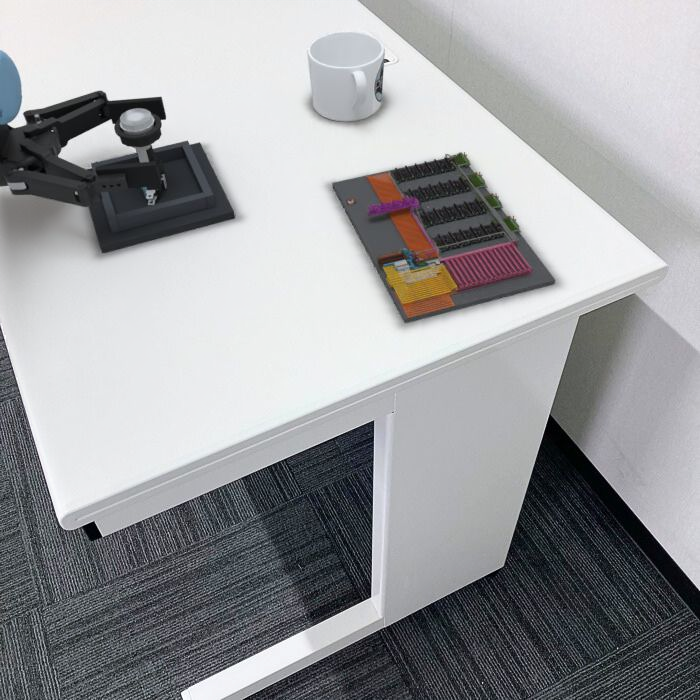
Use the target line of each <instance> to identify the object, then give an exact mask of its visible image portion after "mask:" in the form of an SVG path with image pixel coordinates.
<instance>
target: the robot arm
mask: <svg viewBox="0 0 700 700" xmlns="http://www.w3.org/2000/svg"><path fill="white" fill-rule="evenodd" d="M162 97H163V96H151V97H140V98H128V99H116V100H115V99H114V100H109V99H108V95H107V93H106V92H105V91H103V90H95V91H92V92H90V93H86V94H83V95H79V96H78V97H74V98H71V99H67V100H65V101H61V102H59V103H55V104H52V105H48V106H45V107H43V108H35V109H28V110H25V111H23V112H22V115H23V117H24V121H25V124H24V125H22V126H17V127H14V126H13V127H12V126H11V125H9V123H12V122H13V121H14V120H15V119H16V118H17V116H18V115H19V112H20V111H21V106H22V103H23V101H22V100H23V91H22V80H21V76H20V73H19V70H18V67H17V65H16V64H15V62H14V60H13V59H12V58H11V57H10V56H9V55H8V54H7V53H6V52H5V51H3V50H2V49H0V188H2V187H8V188H9V190H10V192H11V195H13V196H33V197H38V198H42V199H46V200H52V201H56V202H60V203H65V204H69V205H73V206H78V207H82V208H89V206H91V205H92V204H93V202H99V201H101V200H102V195H101V192H108V191H118V190H126V189H129V188H140V187H151V186H161V178H160V174H159V170H158V166H157V163H156V161H153V162H141V163H130V164H118V165H107V166H96V170H95V171H96V174H97V175H95V174H94V173H93V172H91V171H89V170H86V169H87V168H85V167H82V166H79V165H77V164H75V163H73V162H70V161H68V160H66V159H64V158H62V157H60V156H59V155H60V153H61V152H62V149H63V148H65V147H67V146H68V143H69V141H70V140H73V139H74V138H77V137H78V136H81V135H83V134H84V133H87V132H90V131H92V130H93V129H95V128H97V127H99V126H100V125H103V124H105V123H107V122H109V121H111V122H112V125H115V123H116V122H117V121H118V120H119V119H120V117H121V115H122V114H123V113H125V112H126V111H128V110H131V109H137V108H141V109H146V110H148V111H150V112H151V113H153V114H155V115H157V116H158V117H159V118H160V119H161V121H166V120H167V114H166V110H165V106H164V101H163V98H162ZM92 200H93V202H92Z"/></svg>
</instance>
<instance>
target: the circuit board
mask: <svg viewBox="0 0 700 700" xmlns="http://www.w3.org/2000/svg"><path fill="white" fill-rule="evenodd" d="M331 184H332V189H333V191H334V192H335V195H336V196H337V198H338V200H339V201H340V204H341V206H342V208H343V209H344V212H345V213H346V215H347V217H348V219H349V220H350V223H351V225H352V226H353V228H354V230H355V232H356V234H357V235H358V236H357V237H359V240H360V241H361V243H362V245H363V247H364V249H365V250H366V253H367V255H368V256H369V258H370V261H371V262H372V264H373V265H374V267H375V270H376V272H377V273H378V275H379V277H380V279H381V281H382V282H383V285H384V286H385V288H386V291H387V292H388V295H389V296H390V298H391V300H392V302H393V304H394V305H395V307H396V309H397V312H398V313H399V315H400V317H401V319H402V320H403V322H404V324H407V323H411V322H413V321H414V322H415V321H419V320H421V319H426V318H429V317H434V316H437V315H441V314H444V313H448V312H452V311H455V310H460V309H464V308H468V307H472V306H475V305H479V304H483V303H487V302H491V301H494V300H497V299H502V298H505V297H509V296H514V295H517V294H521V293H525V292H529V291H533V290H536V289H540V288H544V287H548V286H551V285H555V284H556V279H555V277H554V276H553V275H552V274H551V272H550V270H549V269H548V268H547V267H546V266H545V264H544V263H543V261H542V260H541V258H540V257H539V256H538V255H537V253H536V252H535V251H534V249H533V248H532V247H531V245H530V244H529V243H528V242H527V241H529V240H526V239H525V238H524V236H523V235H522V234H521V233H522V231H521V230H520V225H519V224H518V222H517V218H515V216H514V215H513V216H512V217H511V215H507V214H506V212H505V211H504V210H503V209H504V207H503V203H502V202H501V200H500V199H499V195H497V193H490V192H489V190H488V188H489V186H488V184H486V180H485V179H484V178H483V174H481V171H479V172H478V171H475V172H474V170H473V169H472V168H471V161H470V160H469V158H468V154H466V152H465V151H464V152H462V151H461V152H458V153H456V154H453V155H450V154H448V153H445V155H444V158H441V159H436V158H434V159H433V160H431V161H426V160H425V161H424V162H422V163H418V164H417V162H416V163H414V164H412V165H404V166H403V167H398V168H397V167H394V169H389V170H386V171H381V172H380V171H379V172H375V173H371V174H367V175H362V176H357V177H352V178H349V179H343V180H339V181H334V182H331Z"/></svg>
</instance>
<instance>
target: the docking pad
mask: <svg viewBox="0 0 700 700" xmlns="http://www.w3.org/2000/svg"><path fill="white" fill-rule="evenodd" d="M153 151H154V152H155V154H156V158H157V160H158V159H160V160H162V162H163V167H164V171H165V175H166V183H167V186H166V189H165V186H164V181H162V188H161V189H162V190H161V194H160V199H155V205H148V201H149V200H148V199H145V195H144V192H143V190H141V187H140V188H129V189H126V190H118V191H108V192H101V195H102V200H101V201H99V202H93V200H92V202H93V204H92V205H91V206H89V207H88V210H89V212H90V217H91V219H92V224H93V228H94V231H95V233H96V238H97V241H98V245H99V248H100V250H101V253H102V254H104V253H109V252H112V251H116V250H120V249H123V248H127V247H131V246H135V245H139V244H142V243H146V242H150V241H153V240H158V239H161V238H165V237H168V236H172V235H176V234H180V233H183V232H184V233H185V232H187V231H191V230H195V229H199V228H202V227H206V226H209V225H214V224H217V223H221V222H225V221H230V220H233V219H235V218H236V216H235V211H234V209H233V206H232V205H231V203H230V201H229V199H228V197H227V195H226V193H225V190H224V188H223V187H222V184H221V182H220V180H219V178H218V176H217V174H216V172H215V170H214V168H213V166H212V164H211V162H210V160H209V158H208V155H207V153H206V151H205V150H204V148H203V146H202V144H201V142H195V143H191V144H190V142H189V140H183V141H180V142H175V143H171V144H166V145H163V146H159V147H155V148H153ZM137 158H138V156H137V152H133V153H129V154H125V155H120V156H116V157H113V158H108V159H103V160H100V161H95V162H90V166H91V167H90V168H85V169H86V170H89V171H91V172H93V173H94V174H95V175H97V174H96V171H95V170H96V166H107V165H118V164H130V163H136V162H137ZM150 203H153V202H150Z"/></svg>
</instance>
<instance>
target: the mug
mask: <svg viewBox="0 0 700 700" xmlns="http://www.w3.org/2000/svg"><path fill="white" fill-rule="evenodd" d="M385 52H386V49H385V46H384V43H383V42H382V41H381V40H380V39H379V38H377V37H375V36H374V35H371V34H369V33H365V32H360V31H355V30H353V31H352V30H342V31H333V32H330V33H326V34H325V33H324V34H323V35H321V36H318V37H317V38H315V39H314V40H312V41H311V42H310V44H309V45H308V48H307V50H306V53H307V62H308V71H309V80H310V81H309V82H310V88H311V89H310V90H311V100H312V106H313V109H314V110H315V112H316V113H317V114H319V115H320V116H321V117H324V118H326V119H328V120H332V121H335V122H357V121H361V120H365V119H367V118H369V117H372V116H373V115H374V114H376V113H377V112H378V111H379V110H380V108H381V106H382V102H383V85H384V68H385V54H386V53H385Z"/></svg>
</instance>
